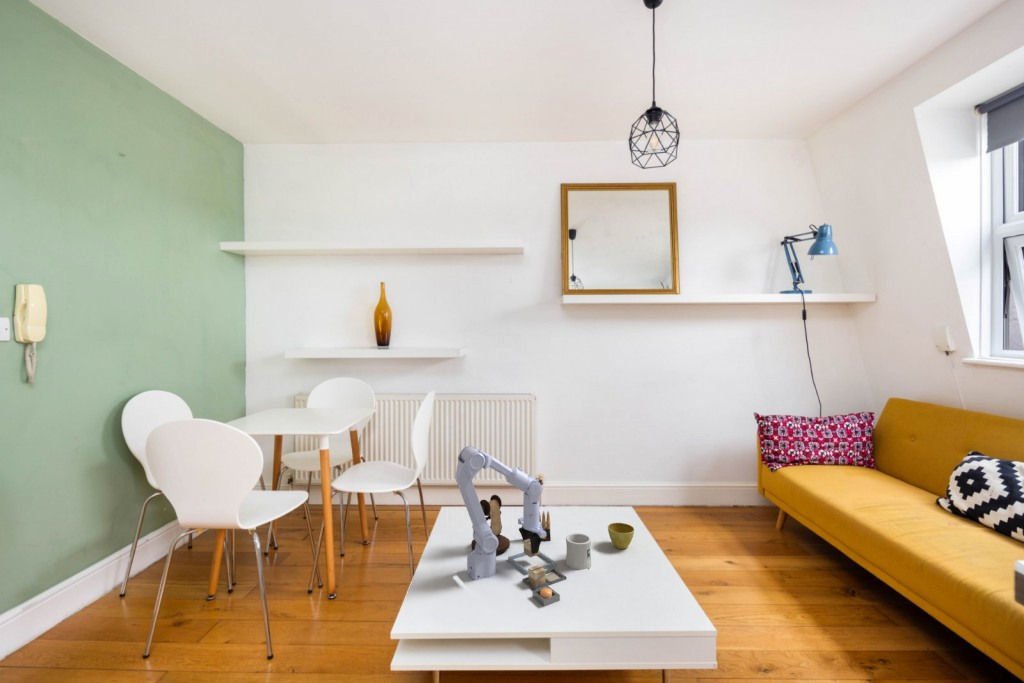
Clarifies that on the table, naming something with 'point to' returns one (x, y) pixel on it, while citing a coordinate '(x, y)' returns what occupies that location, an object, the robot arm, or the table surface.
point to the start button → (545, 592)
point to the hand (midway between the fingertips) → (531, 550)
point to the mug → (578, 551)
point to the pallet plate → (547, 579)
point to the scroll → (494, 522)
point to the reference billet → (536, 575)
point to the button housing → (547, 601)
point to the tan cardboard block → (528, 548)
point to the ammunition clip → (545, 525)
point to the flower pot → (620, 534)
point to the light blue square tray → (510, 558)
